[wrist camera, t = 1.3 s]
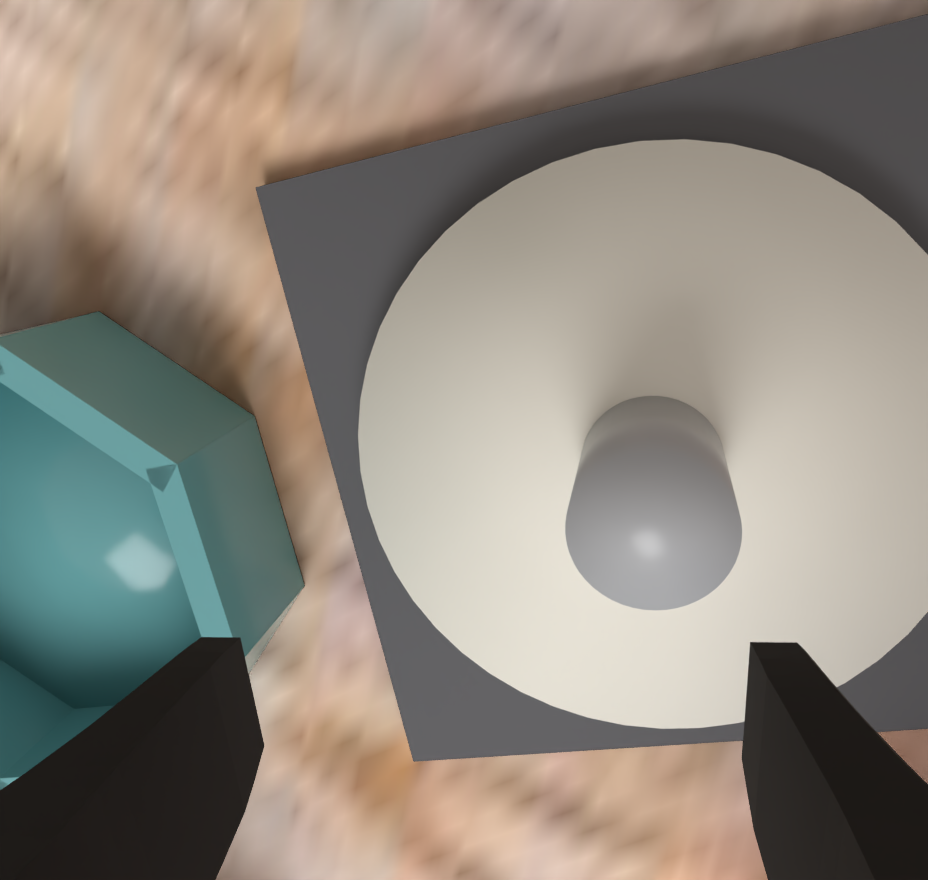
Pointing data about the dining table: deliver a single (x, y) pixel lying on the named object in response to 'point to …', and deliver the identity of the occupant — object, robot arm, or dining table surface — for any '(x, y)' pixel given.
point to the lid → (657, 429)
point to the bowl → (121, 528)
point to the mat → (485, 172)
